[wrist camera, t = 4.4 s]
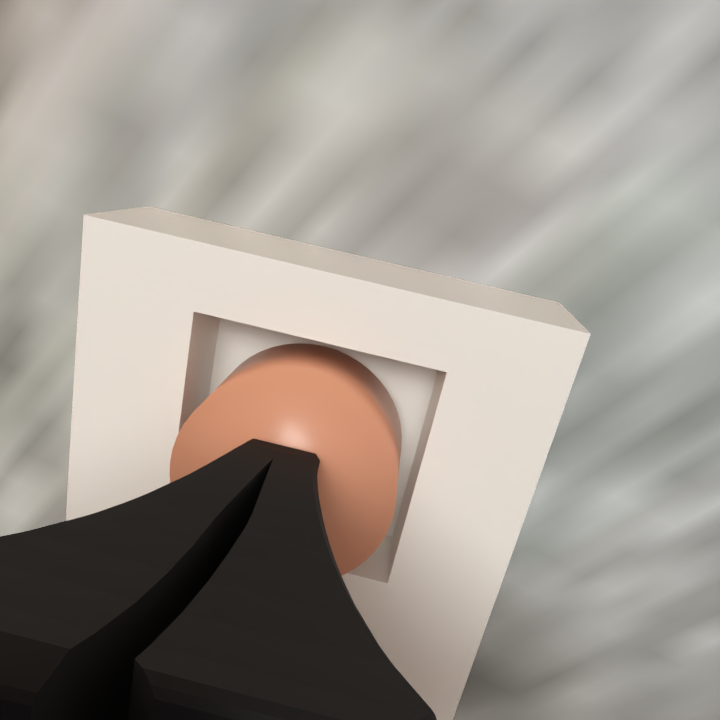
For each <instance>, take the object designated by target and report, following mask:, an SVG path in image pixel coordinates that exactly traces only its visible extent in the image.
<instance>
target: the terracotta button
mask: <svg viewBox="0 0 720 720" xmlns="http://www.w3.org/2000/svg"><path fill="white" fill-rule="evenodd" d="M253 438H254V439H258V440H262V441H266V442H270V443H274V444H278V445H282V446H286V447H290V448H294V449H299V450H303V451H307V452H311V453H315V454H316V455H317V457H318V458H319V460H320V464H319V468H318V473H317V481H318V493H319V500H320V506H321V511H322V517H323V521H324V525H325V529H326V533H327V536H328V540H329V543H330V546H331V549H332V552H333V555H334V558H335V561H336V564H337V566H338V569H339V571H340V573H341V576H342V575H344V574H346V573H348V572H350V571H352V570H353V569H355V568H356V567H358V566H359V565H360V564H362V563H363V562H364V561H366V560H367V559H368V558H369V557H370V556H371V555H372V554H373V553H374V552H375V550H376V549H377V548H378V546H379V545H380V544H381V542H382V541H383V539H384V537H385V535H386V534H387V532H388V530H389V527H390V524H391V522H392V519H393V515H394V510H395V504H396V495H397V485H398V475H399V465H400V455H401V442H402V433H401V424H400V420H399V416H398V412H397V409H396V407H395V404H394V402H393V400H392V398H391V396H390V394H389V393H388V391H387V389H386V388H385V387H384V385H383V384H382V383H381V381H380V380H379V379H378V378H377V377H376V376H375V375H374V374H373V373H372V372H371V371H370V370H369V369H368V368H367V367H365V366H364V365H363V364H361V363H360V362H359V361H357V360H355V359H354V358H352V357H350V356H349V355H347V354H344V353H342V352H340V351H338V350H335V349H332V348H328V347H325V346H320V345H315V344H304V343H294V344H284V345H279V346H275V347H271V348H268V349H266V350H263V351H260V352H259V353H257V354H255V355H253V356H251V357H249V358H248V359H247V360H245V361H244V362H242V363H241V364H240V365H239V366H238V367H237V368H236V369H235V370H234V371H233V372H232V373H231V374H230V375H229V376H228V377H227V378H226V379H225V380H224V381H223V382H222V383H221V384H220V385H219V386H218V387H217V388H216V389H215V390H214V391H213V392H212V393H211V394H210V395H209V396H208V397H207V398H206V399H205V400H204V402H203V403H202V404H201V405H200V406H199V407H198V408H197V409H196V410H195V411H194V412H193V413H192V414H191V415H190V417H189V418H188V419H187V420H186V422H185V423H184V424H183V426H182V428H181V430H180V432H179V434H178V435H177V438H176V441H175V443H174V446H173V449H172V454H171V459H170V483H171V482H173V481H175V480H177V479H180V478H182V477H184V476H186V475H188V474H190V473H192V472H194V471H196V470H197V469H199V468H201V467H203V466H205V465H207V464H209V463H210V462H212V461H214V460H216V459H217V458H219V457H221V456H223V455H224V454H226V453H228V452H230V451H231V450H233V449H235V448H237V447H238V446H240V445H242V444H244V443H246V442H247V441H249V440H251V439H253Z"/></svg>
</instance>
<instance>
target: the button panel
mask: <svg viewBox="0 0 720 720" xmlns="http://www.w3.org/2000/svg"><path fill="white" fill-rule="evenodd" d="M590 335H591V334H590V333H589V332H588V331H587V330H586V329H585V328H584V327H583V326H582V325H581V324H580V323H579V322H578V321H577V320H576V319H575V317H574V316H573V315H572V314H571V313H570V312H569V311H568V310H567V309H566V308H565V307H564V306H563V305H562V304H561V303H560V302H556V301H552V300H547V299H543V298H539V297H535V296H530V295H526V294H522V293H517V292H513V291H509V290H505V289H500V288H496V287H492V286H487V285H483V284H479V283H475V282H470V281H466V280H462V279H458V278H453V277H449V276H445V275H440V274H436V273H432V272H428V271H423V270H419V269H415V268H410V267H406V266H402V265H398V264H393V263H389V262H385V261H381V260H376V259H372V258H368V257H363V256H359V255H355V254H351V253H346V252H342V251H338V250H334V249H329V248H325V247H321V246H316V245H312V244H308V243H304V242H299V241H295V240H291V239H286V238H282V237H278V236H274V235H269V234H265V233H261V232H257V231H252V230H248V229H244V228H239V227H235V226H231V225H227V224H222V223H218V222H214V221H209V220H205V219H201V218H197V217H192V216H188V215H184V214H180V213H175V212H171V211H167V210H162V209H158V208H154V207H150V206H146V207H139V208H131V209H123V210H116V211H108V212H100V213H93V214H85V215H84V220H83V237H82V254H81V271H80V288H79V305H78V321H77V338H76V355H75V372H74V389H73V406H72V423H71V440H70V457H69V474H68V491H67V508H66V521H68V520H72V519H76V518H79V517H83V516H87V515H90V514H93V513H96V512H99V511H102V510H105V509H108V508H111V507H114V506H116V505H119V504H122V503H125V502H127V501H130V500H133V499H135V498H138V497H140V496H143V495H145V494H147V493H150V492H152V491H154V490H156V489H158V488H160V487H163V486H165V485H167V484H169V483H170V459H171V454H172V449H173V446H174V443H175V441H176V438H177V435H178V434H179V432H180V430H181V428H182V426H183V424H184V423H185V422H186V420H187V419H188V418H189V417H190V415H191V414H192V413H193V412H194V411H195V410H196V409H197V408H198V407H199V406H200V405H201V404H202V403H203V402H204V400H205V399H206V398H207V397H208V396H209V395H210V394H211V393H212V392H213V391H214V390H215V389H216V388H217V387H218V386H219V385H220V384H221V383H222V382H223V381H224V380H225V379H226V378H227V377H228V376H229V375H230V374H231V373H232V372H233V371H234V370H235V369H236V368H237V367H238V366H239V365H240V364H241V363H242V362H244V361H245V360H247V359H248V358H249V357H251V356H253V355H255V354H257V353H259V352H260V351H263V350H266V349H268V348H271V347H275V346H279V345H284V344H294V343H304V344H315V345H320V346H325V347H328V348H332V349H335V350H338V351H340V352H342V353H344V354H347V355H349V356H350V357H352V358H354V359H355V360H357V361H359V362H360V363H361V364H363V365H364V366H365V367H367V368H368V369H369V370H370V371H371V372H372V373H373V374H374V375H375V376H376V377H377V378H378V379H379V380H380V381H381V383H382V384H383V385H384V387H385V388H386V389H387V391H388V393H389V394H390V396H391V398H392V400H393V402H394V404H395V407H396V409H397V412H398V416H399V420H400V424H401V433H402V442H401V455H400V465H399V475H398V485H397V495H396V504H395V510H394V515H393V519H392V522H391V524H390V527H389V530H388V532H387V534H386V535H385V537H384V539H383V541H382V542H381V544H380V545H379V546H378V548H377V549H376V550H375V552H374V553H373V554H372V555H371V556H370V557H369V558H368V559H367V560H366V561H364V562H363V563H362V564H360V565H359V566H358V567H356V568H355V569H353V570H352V571H350V572H348V573H346V574H344V575H342V578H343V581H344V583H345V585H346V587H347V589H348V591H349V593H350V595H351V598H352V600H353V602H354V604H355V606H356V607H357V609H358V611H359V612H360V614H361V616H362V617H363V619H364V621H365V623H366V624H367V626H368V628H369V629H370V631H371V633H372V634H373V636H374V638H375V639H376V641H377V643H378V644H379V646H380V647H381V649H382V650H383V651H384V653H385V654H386V656H387V657H388V658H389V660H390V661H391V662H392V664H393V665H394V666H395V668H396V669H397V670H398V671H399V672H400V673H401V674H402V676H403V677H404V678H405V679H406V680H407V681H408V683H409V684H410V685H411V686H412V687H413V688H414V689H415V691H416V692H417V693H418V694H419V695H420V696H421V698H422V699H423V700H424V701H425V702H426V703H427V705H428V706H429V707H430V708H431V709H432V710H433V712H434V714H435V715H436V719H437V720H453V718H454V715H455V712H456V709H457V706H458V704H459V701H460V698H461V695H462V693H463V690H464V687H465V684H466V681H467V679H468V676H469V673H470V670H471V667H472V665H473V662H474V659H475V656H476V653H477V651H478V648H479V645H480V642H481V639H482V637H483V634H484V631H485V628H486V625H487V623H488V620H489V617H490V614H491V611H492V609H493V606H494V603H495V600H496V597H497V595H498V592H499V589H500V586H501V583H502V581H503V578H504V575H505V572H506V569H507V567H508V564H509V561H510V558H511V555H512V553H513V550H514V547H515V544H516V541H517V539H518V536H519V533H520V530H521V528H522V525H523V522H524V519H525V516H526V514H527V511H528V508H529V505H530V502H531V500H532V497H533V494H534V491H535V488H536V486H537V483H538V480H539V477H540V474H541V472H542V469H543V466H544V463H545V460H546V458H547V455H548V452H549V449H550V446H551V444H552V441H553V438H554V435H555V432H556V430H557V427H558V424H559V421H560V418H561V416H562V413H563V410H564V407H565V404H566V402H567V399H568V396H569V393H570V390H571V388H572V385H573V382H574V379H575V376H576V374H577V371H578V368H579V365H580V362H581V360H582V357H583V354H584V351H585V349H586V346H587V343H588V340H589V337H590Z"/></svg>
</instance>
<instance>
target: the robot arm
mask: <svg viewBox="0 0 720 720" xmlns="http://www.w3.org/2000/svg"><path fill="white" fill-rule="evenodd" d="M319 464H320V460H319V458H318V457H317V455H316V454H315V453H311V452H307V451H303V450H299V449H294V448H290V447H286V446H282V445H278V444H274V443H270V442H266V441H262V440H258V439H254V438H253V439H251V440H249V441H247V442H246V443H244V444H242V445H240V446H238V447H237V448H235V449H233V450H231V451H230V452H228V453H226V454H224V455H223V456H221V457H219V458H217V459H216V460H214V461H212V462H210V463H209V464H207V465H205V466H203V467H201V468H199V469H197V470H196V471H194V472H192V473H190V474H188V475H186V476H184V477H182V478H180V479H177V480H175V481H173V482H171V483H169V484H167V485H165V486H163V487H160V488H158V489H156V490H154V491H152V492H150V493H147V494H145V495H143V496H140V497H138V498H135V499H133V500H130V501H127V502H125V503H122V504H119V505H116V506H114V507H111V508H108V509H105V510H102V511H99V512H96V513H93V514H90V515H87V516H83V517H79V518H76V519H72V520H68V521H64V522H61V523H57V524H53V525H49V526H45V527H42V528H38V529H34V530H30V531H26V532H21V533H16V534H11V535H6V536H2V537H0V720H437V719H436V715H435V714H434V712H433V710H432V709H431V708H430V707H429V706H428V705H427V703H426V702H425V701H424V700H423V699H422V698H421V696H420V695H419V694H418V693H417V692H416V691H415V689H414V688H413V687H412V686H411V685H410V684H409V683H408V681H407V680H406V679H405V678H404V677H403V676H402V674H401V673H400V672H399V671H398V670H397V669H396V668H395V666H394V665H393V664H392V662H391V661H390V660H389V658H388V657H387V656H386V654H385V653H384V651H383V650H382V649H381V647H380V646H379V644H378V643H377V641H376V639H375V638H374V636H373V634H372V633H371V631H370V629H369V628H368V626H367V624H366V623H365V621H364V619H363V617H362V616H361V614H360V612H359V611H358V609H357V607H356V606H355V604H354V602H353V600H352V598H351V595H350V593H349V591H348V589H347V587H346V585H345V583H344V581H343V578H342V576H341V573H340V571H339V569H338V566H337V564H336V561H335V558H334V555H333V552H332V549H331V546H330V543H329V540H328V536H327V533H326V529H325V525H324V521H323V517H322V511H321V506H320V500H319V493H318V481H317V473H318V468H319Z"/></svg>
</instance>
